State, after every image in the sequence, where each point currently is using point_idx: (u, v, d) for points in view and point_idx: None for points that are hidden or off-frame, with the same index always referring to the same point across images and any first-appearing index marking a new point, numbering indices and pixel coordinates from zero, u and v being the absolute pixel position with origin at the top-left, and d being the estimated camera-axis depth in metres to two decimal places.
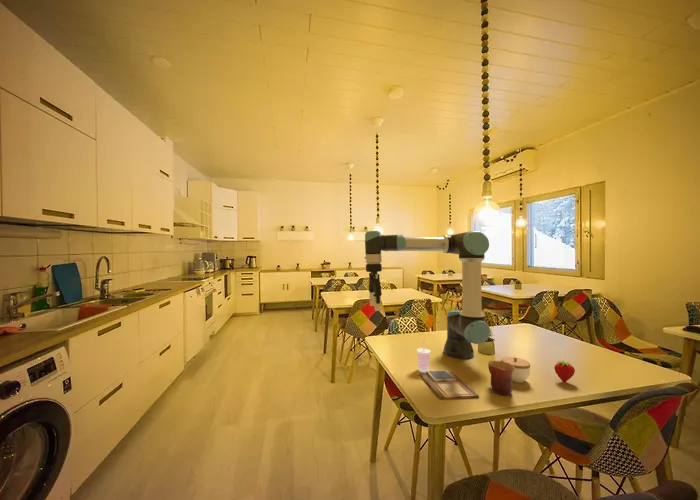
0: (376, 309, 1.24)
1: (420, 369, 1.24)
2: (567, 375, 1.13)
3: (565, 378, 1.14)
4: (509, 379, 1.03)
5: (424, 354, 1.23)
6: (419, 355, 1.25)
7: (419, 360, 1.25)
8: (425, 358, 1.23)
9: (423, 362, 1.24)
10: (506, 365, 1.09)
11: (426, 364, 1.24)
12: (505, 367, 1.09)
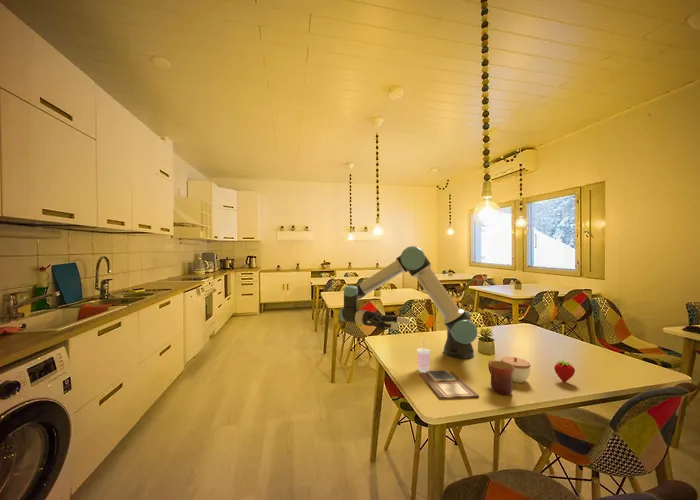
0: (396, 328, 1.26)
1: (420, 369, 1.24)
2: (567, 375, 1.13)
3: (565, 378, 1.14)
4: (509, 379, 1.03)
5: (424, 354, 1.23)
6: (419, 355, 1.25)
7: (419, 360, 1.25)
8: (425, 358, 1.23)
9: (423, 362, 1.24)
10: (506, 365, 1.09)
11: (426, 364, 1.24)
12: (505, 367, 1.09)
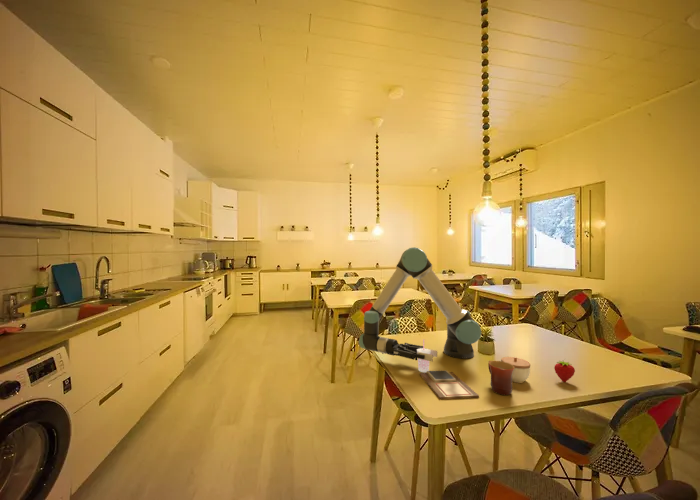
0: (430, 359, 1.20)
1: (420, 369, 1.24)
2: (567, 375, 1.13)
3: (565, 378, 1.14)
4: (509, 379, 1.03)
5: None
6: None
7: (419, 360, 1.25)
8: None
9: (423, 362, 1.24)
10: (506, 365, 1.09)
11: (426, 364, 1.24)
12: (505, 367, 1.09)
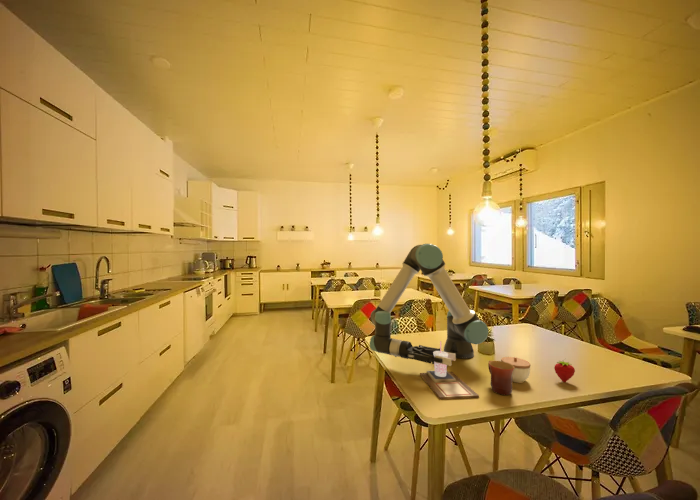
0: (449, 363, 1.11)
1: (437, 373, 1.15)
2: (567, 375, 1.13)
3: (565, 378, 1.14)
4: (509, 379, 1.03)
5: None
6: None
7: (436, 364, 1.16)
8: None
9: (440, 366, 1.15)
10: (506, 365, 1.09)
11: (444, 368, 1.15)
12: (505, 367, 1.09)
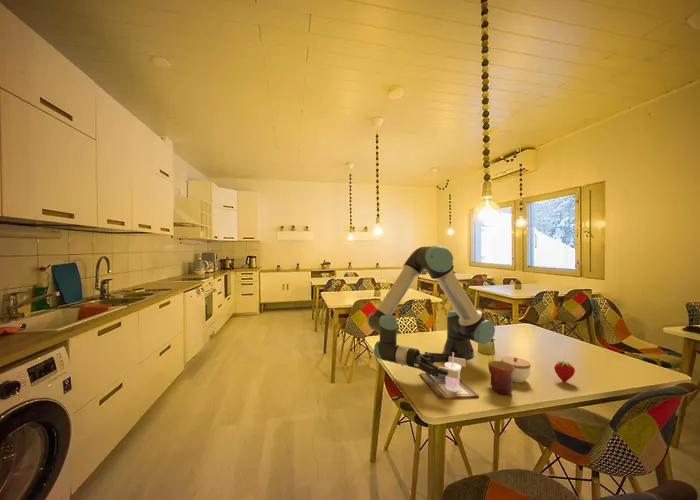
0: (455, 376, 0.99)
1: (448, 387, 1.05)
2: (567, 375, 1.13)
3: (565, 378, 1.14)
4: (509, 379, 1.03)
5: None
6: None
7: (447, 377, 1.05)
8: None
9: (452, 380, 1.04)
10: (506, 365, 1.09)
11: (456, 382, 1.04)
12: (505, 367, 1.09)
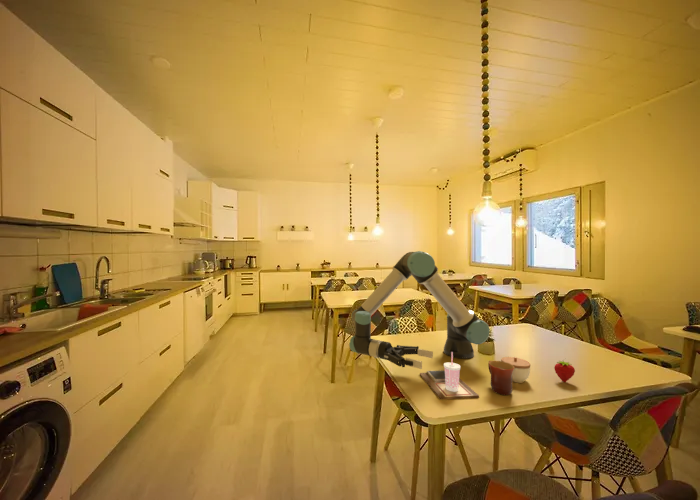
0: (419, 366, 1.07)
1: (448, 388, 1.05)
2: (567, 375, 1.13)
3: (565, 378, 1.14)
4: (509, 379, 1.03)
5: (453, 370, 1.04)
6: (447, 371, 1.05)
7: (447, 377, 1.05)
8: (455, 375, 1.04)
9: (452, 379, 1.04)
10: (506, 365, 1.09)
11: (456, 382, 1.04)
12: (505, 367, 1.09)
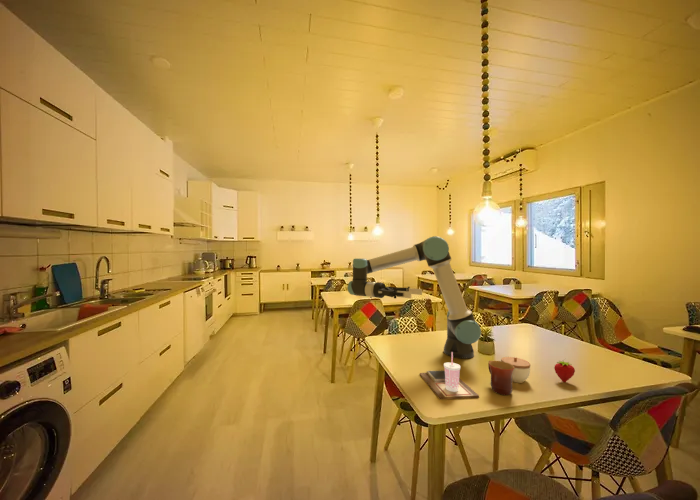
0: (409, 296, 1.21)
1: (448, 388, 1.05)
2: (567, 375, 1.13)
3: (565, 378, 1.14)
4: (509, 379, 1.03)
5: (453, 370, 1.04)
6: (447, 371, 1.05)
7: (447, 377, 1.05)
8: (455, 375, 1.04)
9: (452, 379, 1.04)
10: (506, 365, 1.09)
11: (456, 382, 1.04)
12: (505, 367, 1.09)
